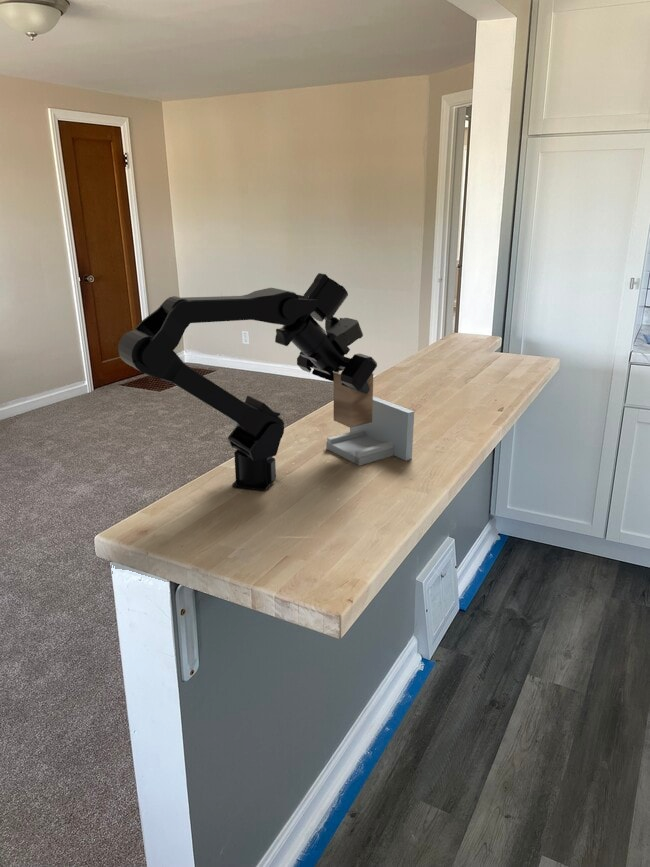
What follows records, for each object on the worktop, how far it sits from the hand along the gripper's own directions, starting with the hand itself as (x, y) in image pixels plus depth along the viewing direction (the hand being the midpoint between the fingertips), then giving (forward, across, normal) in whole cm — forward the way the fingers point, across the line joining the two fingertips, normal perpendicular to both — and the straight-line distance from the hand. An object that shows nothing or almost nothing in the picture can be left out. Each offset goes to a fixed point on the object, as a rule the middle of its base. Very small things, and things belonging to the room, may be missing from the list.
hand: (358, 388), depth 127 cm
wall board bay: (+10, 0, +9) cm, 14 cm away
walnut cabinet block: (+4, 0, +6) cm, 7 cm away
